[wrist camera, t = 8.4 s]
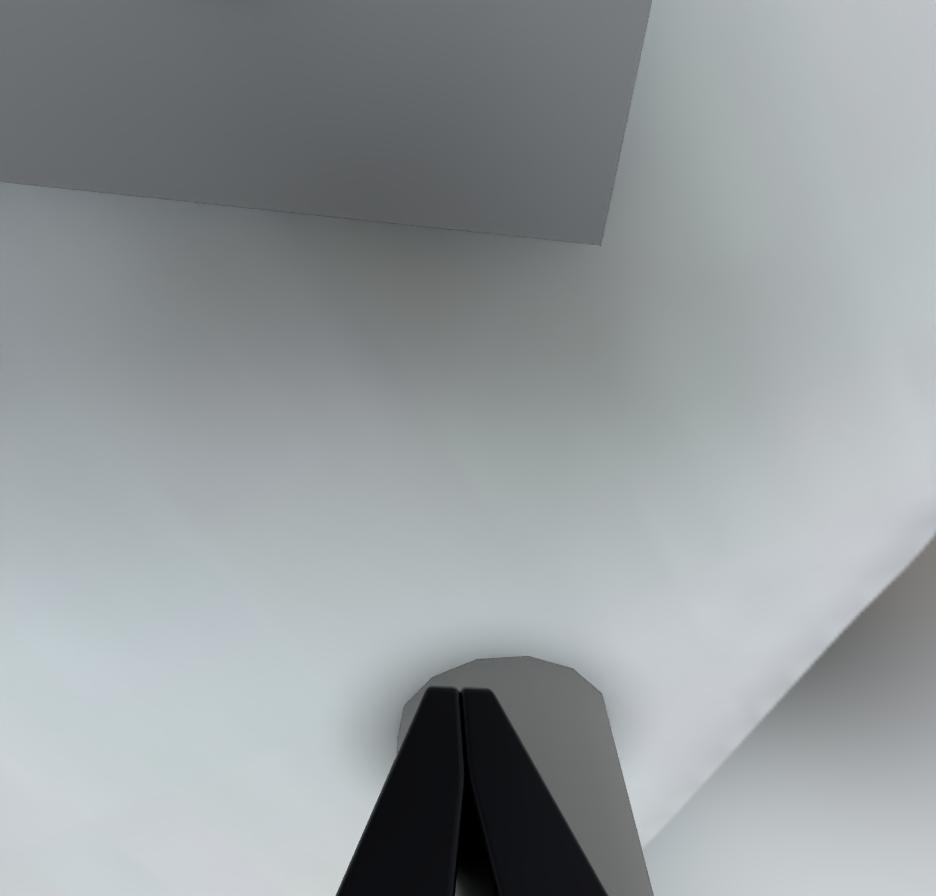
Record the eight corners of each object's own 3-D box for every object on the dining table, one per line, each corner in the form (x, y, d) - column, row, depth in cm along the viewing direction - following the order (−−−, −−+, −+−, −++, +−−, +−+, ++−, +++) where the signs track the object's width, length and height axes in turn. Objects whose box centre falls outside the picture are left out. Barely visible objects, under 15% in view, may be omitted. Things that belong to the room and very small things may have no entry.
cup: (370, 683, 26) (339, 1002, 17) (587, 634, 25) (666, 944, 17) (434, 811, 30) (435, 1119, 22) (622, 773, 30) (699, 1076, 21)
